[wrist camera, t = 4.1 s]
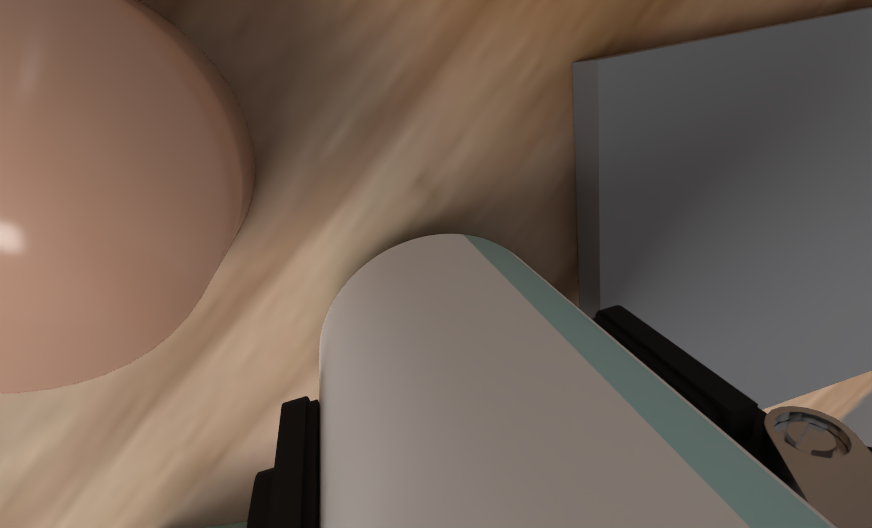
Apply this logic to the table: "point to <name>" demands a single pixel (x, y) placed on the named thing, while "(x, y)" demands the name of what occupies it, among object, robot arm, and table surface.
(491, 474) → the can
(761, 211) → the slate board
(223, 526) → the green block
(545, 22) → the table surface
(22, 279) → the peach smooth rounded part
